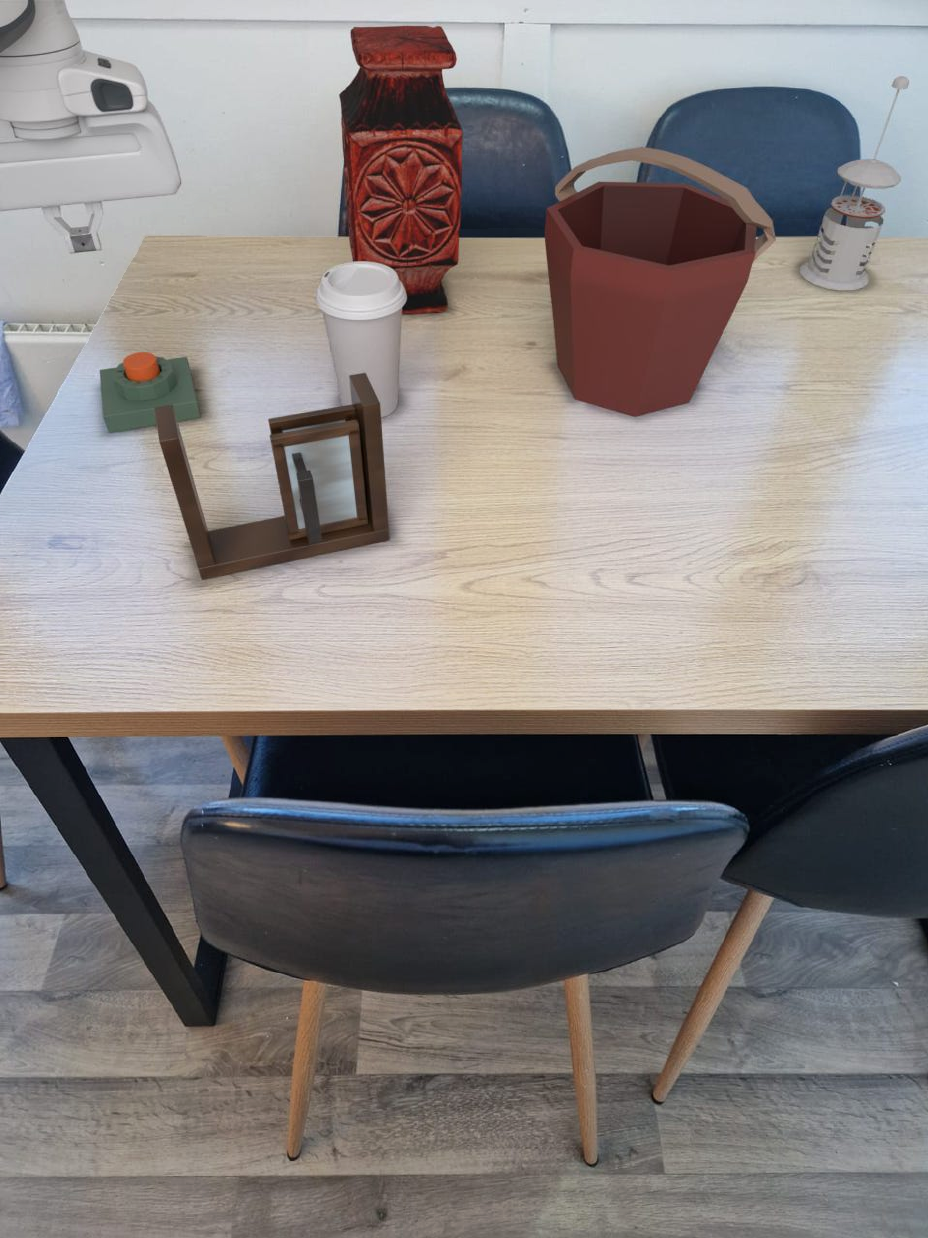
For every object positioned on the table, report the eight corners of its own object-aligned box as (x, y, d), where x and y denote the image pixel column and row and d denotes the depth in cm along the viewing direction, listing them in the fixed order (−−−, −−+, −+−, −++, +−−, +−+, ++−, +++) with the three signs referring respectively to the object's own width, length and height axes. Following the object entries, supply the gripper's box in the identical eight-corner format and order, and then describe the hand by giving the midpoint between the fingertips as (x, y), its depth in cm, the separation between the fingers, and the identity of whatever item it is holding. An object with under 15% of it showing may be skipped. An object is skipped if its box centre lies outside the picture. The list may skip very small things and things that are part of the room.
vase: (461, 318, 111) (464, 53, 89) (357, 324, 109) (335, 56, 87) (446, 271, 120) (446, 20, 98) (351, 276, 119) (329, 22, 96)
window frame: (201, 580, 77) (159, 441, 66) (195, 545, 80) (153, 407, 69) (389, 540, 81) (380, 402, 70) (376, 508, 84) (365, 372, 73)
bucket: (763, 394, 100) (835, 170, 81) (632, 460, 90) (679, 225, 72) (619, 312, 113) (653, 103, 94) (491, 363, 103) (501, 143, 85)
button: (128, 384, 92) (123, 370, 91) (126, 368, 95) (121, 354, 93) (161, 379, 93) (157, 365, 92) (158, 363, 96) (154, 349, 94)
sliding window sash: (299, 573, 75) (280, 472, 67) (288, 535, 79) (269, 434, 70) (380, 555, 77) (372, 454, 69) (366, 519, 80) (357, 419, 72)
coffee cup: (364, 372, 101) (354, 249, 90) (427, 398, 98) (424, 273, 87) (311, 408, 96) (293, 282, 85) (375, 437, 93) (365, 309, 81)
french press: (804, 287, 118) (869, 85, 100) (793, 252, 126) (852, 58, 108) (875, 292, 117) (954, 90, 99) (860, 256, 125) (931, 62, 107)
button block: (109, 433, 92) (98, 402, 89) (105, 386, 99) (94, 355, 96) (200, 417, 95) (193, 386, 92) (191, 372, 101) (183, 342, 98)
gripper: (-107, 103, 65) (-35, 277, 75) (162, 86, 70) (196, 251, 80) (-99, 80, 69) (-31, 248, 79) (155, 65, 74) (189, 225, 84)
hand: (85, 249), depth 80 cm, fingers closed
